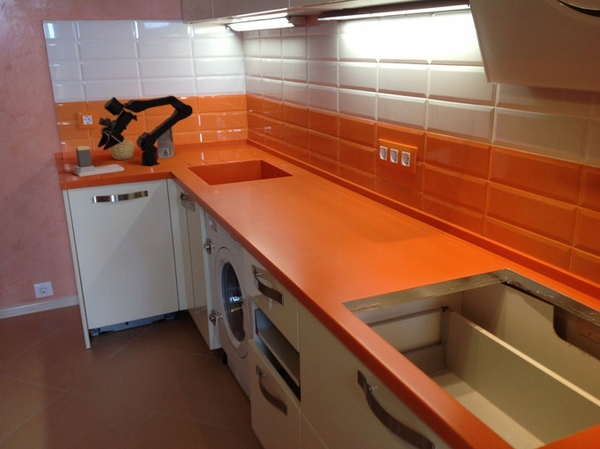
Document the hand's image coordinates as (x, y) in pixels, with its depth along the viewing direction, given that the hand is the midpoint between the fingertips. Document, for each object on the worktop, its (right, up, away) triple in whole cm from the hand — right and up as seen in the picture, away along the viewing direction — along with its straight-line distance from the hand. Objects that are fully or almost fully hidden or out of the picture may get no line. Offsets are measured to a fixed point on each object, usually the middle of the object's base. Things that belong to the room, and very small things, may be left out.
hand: (101, 148), depth 253 cm
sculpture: (0, -1, +30) cm, 30 cm away
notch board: (-2, -10, +2) cm, 11 cm away
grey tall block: (-7, -10, -1) cm, 12 cm away
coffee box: (+22, +1, +35) cm, 41 cm away
